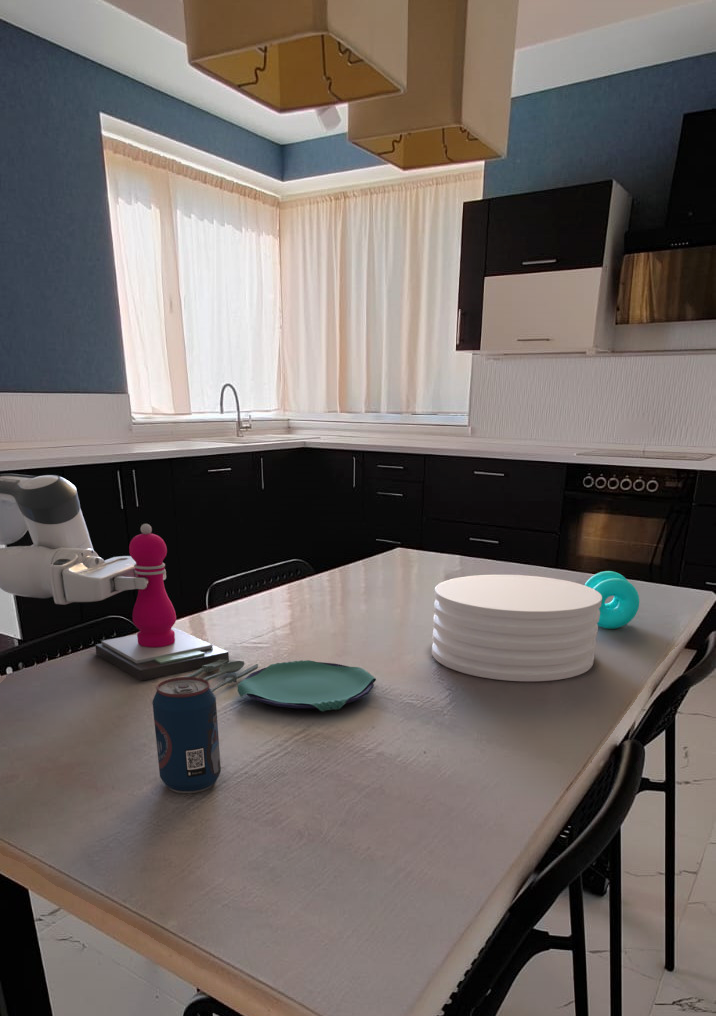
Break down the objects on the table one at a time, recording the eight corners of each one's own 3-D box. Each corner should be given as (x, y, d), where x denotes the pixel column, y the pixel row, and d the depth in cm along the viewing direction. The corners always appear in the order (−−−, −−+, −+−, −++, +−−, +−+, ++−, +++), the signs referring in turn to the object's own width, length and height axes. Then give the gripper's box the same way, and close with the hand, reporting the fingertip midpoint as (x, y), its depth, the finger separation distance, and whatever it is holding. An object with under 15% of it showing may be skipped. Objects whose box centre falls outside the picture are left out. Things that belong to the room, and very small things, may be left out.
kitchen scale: (96, 654, 134) (94, 641, 133) (179, 638, 144) (178, 626, 143) (141, 681, 122) (140, 666, 121) (229, 662, 131) (228, 648, 130)
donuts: (625, 618, 160) (633, 570, 156) (636, 631, 151) (644, 580, 147) (577, 616, 161) (582, 569, 157) (584, 629, 152) (591, 579, 148)
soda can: (155, 775, 91) (145, 679, 86) (213, 765, 94) (206, 672, 89) (167, 800, 85) (157, 699, 81) (228, 789, 88) (221, 691, 83)
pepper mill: (183, 637, 136) (174, 521, 128) (170, 649, 129) (159, 527, 121) (143, 635, 137) (132, 520, 129) (128, 647, 130) (115, 526, 122)
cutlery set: (340, 727, 105) (340, 711, 104) (159, 695, 116) (158, 680, 115) (392, 683, 122) (393, 669, 121) (230, 658, 133) (230, 645, 132)
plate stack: (475, 626, 154) (479, 568, 149) (614, 650, 139) (623, 587, 135) (402, 660, 133) (404, 594, 128) (558, 693, 118) (566, 620, 114)
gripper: (114, 580, 142) (184, 584, 139) (49, 606, 124) (127, 612, 121) (110, 545, 139) (181, 549, 136) (43, 567, 121) (123, 572, 118)
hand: (155, 579), depth 128 cm, fingers closed on pepper mill, 5 cm apart
